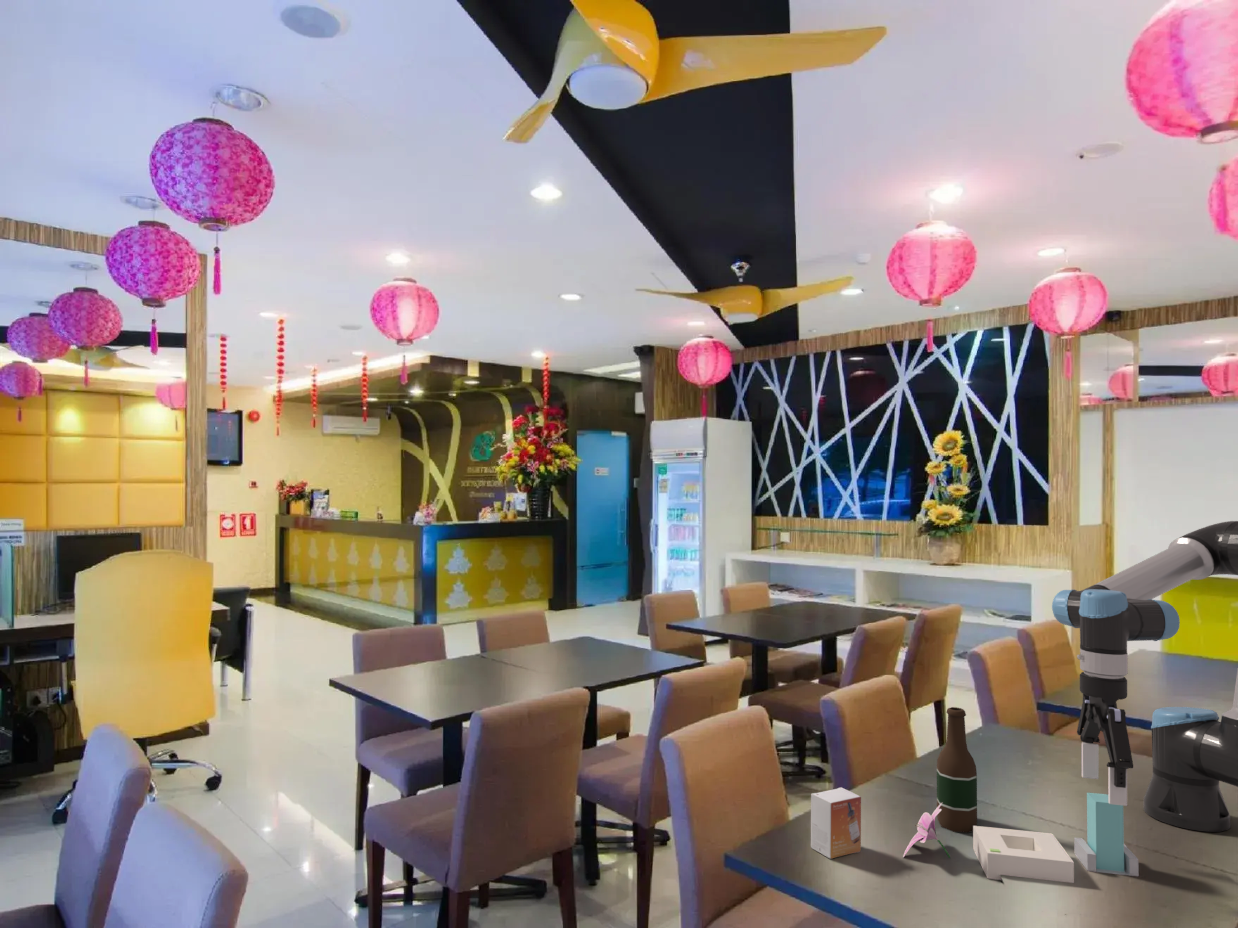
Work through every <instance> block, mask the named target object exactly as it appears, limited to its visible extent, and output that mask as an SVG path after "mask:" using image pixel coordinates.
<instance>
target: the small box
mask: <svg viewBox="0 0 1238 928" xmlns="http://www.w3.org/2000/svg"><path fill="white" fill-rule="evenodd" d="M861 831H862V797H861V796H860V795H858V794H856V793H854V792H852V791H850V790H848V789H845V788H843V787H842V786H841V787H838V788H833V789H829V790H824V791H820V792H814V793H813V792H812V793H811V794H810V848H811V849H812V850H813V851H816V852H818V853H820V855H822V856H825V857H826V858H828V859H834V858H838V857H842V856H846V855H851V854H857V853H860V852H861V849H862V843H861V842H862V841H861V840H862V838H861V837H862V832H861Z"/></svg>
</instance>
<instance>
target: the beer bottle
mask: <svg viewBox="0 0 1238 928" xmlns="http://www.w3.org/2000/svg"><path fill="white" fill-rule="evenodd" d="M966 713H967V712H966V711H965V709H964V708H961V707H956V706H952V707H948V708H946V714H947V727H946V728H947V729H946V741H945V746H944V747H943V748H942V750H941V751H940V752H939V755H938V756H937V761H936V808H937V807H938V806H939V805H940V804H941V803H942V804H941V806H940V808H939V809H942V810H941V811H940V812H939V813H938V815H937V816H936V817H937V821H938V823H939V825H940V827H941V828H943V829H946V830H948V831H950V832H954V833H963V834H964V833H966V834H969V833H971V832H973V826H978V774H977V773H978V772H977V766H976V763H975V760H974V757H973V756H972V754H971V753H970V751H969V749H968V745H967V735H966V722H965V721H966V720H965V717H966V716H967V714H966Z"/></svg>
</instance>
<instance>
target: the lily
mask: <svg viewBox="0 0 1238 928" xmlns="http://www.w3.org/2000/svg"><path fill="white" fill-rule="evenodd" d="M941 804H942V803H941ZM941 804H940V805H939V806H938V807H937V806H936V809H934V811H933V812H932V814H930V813H929V812H923V814H922V815H921V816H920V819H919V820H918V822H917V823H916V824H914V826H915V827H916V830H917V832H916V833H915V834H914V836H913V837H912V838H911V840H910V841H909V843H908V845H907V846H906V849H905V850H904V852H903V855H902V858H904V857H905V856H906V855H907V854H908V852H909V850H910V849H911V848H912V846H913V845H914V844H916V842H919V843H921V844H924V843H925V842H926V841H929V840H936V841H937V842H938V843H939V845H940V846H941V847H942V849H943V850H944V851H945V852H944V853H945V854H946V855H947V857H948V858H949V859H951V857H950V854H949V853H948V851H947V849H946V847H945V846H944V845H943V843H942V842H941V841H940V840H939V838H938V837H937V833H936V823H935V822H936V817H937V815H938V813H939V812H940V811H941V810H942V809H939V808H940V806H941Z"/></svg>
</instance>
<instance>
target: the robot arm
mask: <svg viewBox="0 0 1238 928" xmlns="http://www.w3.org/2000/svg"><path fill="white" fill-rule="evenodd" d="M1215 575H1216V576H1218V575H1228V576H1229V575H1230V576H1238V520H1230V521H1221V522H1218V523H1217V522H1216V523H1213V524H1210V525H1206V526H1205V527H1201V528H1198V529H1196V530H1194V531H1190V532H1188V533H1186V534H1184V535H1181V536H1180V537H1178V538H1176V539H1174V540H1173V541H1171V542H1170V543H1169V544H1168V547H1167V548H1166V549H1165V550H1163V551H1160V552H1158V553H1157V554H1155V555H1153V556H1149V557H1148V558H1146V559H1143V560H1142V561H1140V562H1137V563H1136V564H1134V565H1132V566H1130V567H1127V568H1126V569H1123V570H1121V571H1120V572H1118V573H1115V574H1113V575H1112V576H1109V577H1108V578H1107V577H1106V578H1104V579H1103V580H1101V581H1099V582H1096V583H1095V584H1093V585H1091V586H1089V587H1086V588H1084V589H1082V590H1077V589H1063V590H1060V591H1059V592H1057V594H1056V595H1054V597H1053V600H1052V604H1051V609H1052V614H1053V617H1054V618H1055V620H1056V621H1057V622H1059V624H1062V625H1064V626H1069V627H1072V628H1074V629H1079V642H1080V643H1079V653H1080V654H1076V658H1077V659H1078V660H1079V669H1080V670H1081V671H1082V672H1081V673H1080V674H1079V691H1080V693H1081V694H1082V704H1081V709H1080V715H1079V720H1078V724H1077V730H1076V734H1077V735H1078V736H1079V739H1080V741H1081V777H1082V778H1083V779H1094V780H1099V776H1100V775H1099V769H1100V768H1099V754H1100V753H1099V747H1100V746H1099V744H1100V743H1101V739H1100V738H1099V735H1100V733H1101V732H1102V735H1103V737H1104V739H1103V740H1104V743H1105V745H1106V750H1107V754H1108V758H1109V761H1108V762H1107V763H1106V768H1107V769H1108V770H1107V771H1108V775H1107V776H1108V777H1107V778H1108V780H1107V781H1108V785H1107V786H1108V789H1107V790H1108V792H1107V793H1108V803H1109V804H1113V805H1123V807H1124V806H1125V807H1127V806H1128V770H1129V769H1133V768H1134V762H1133V756H1132V751H1131V744H1130V739H1129V733H1128V728H1127V720H1126V719H1127V718H1126V713H1127V712H1126V711H1125V709H1122V708H1120V709H1119V708H1118V705H1117V702H1118V701H1119V700H1120V701H1121V700H1125V699H1126V698H1127V697H1128V679H1127V678H1126V677H1125V676H1127V675H1128V671H1129V670H1128V669H1129V668H1128V667H1129V666H1128V665H1129V661H1128V659H1129V658H1128V657H1129V655H1128V642H1133V641H1134V642H1135V641H1136V642H1137V641H1141V642H1142V641H1153V642H1157V641H1161V640H1162V641H1163V640H1169V639H1170V638H1173V637H1174V636H1175V635H1176V634H1177V632H1178V631H1179V629H1180V616H1179V613H1178V612H1177V610H1176V609H1175V607H1174V606H1173V605H1171V603H1169V602H1168V601H1167V602H1166V601H1164V600H1158V599H1155V598H1157V597H1159V596H1161V595H1164V594H1165V593H1168V592H1169V591H1171V590H1174V589H1175V588H1177V587H1179V586H1182V585H1183V584H1185V583H1187V582H1189V581H1191V580H1196V581H1197V580H1199V581H1200V580H1204V579H1206V578H1208V577H1211V576H1215ZM1232 701H1233V702H1232V707H1231V708H1230V709H1228V710H1227V711H1225V712H1222V713H1221V719H1220V717H1219V714H1218V712H1216V710H1212V709H1208V708H1207V709H1206V708H1201V707H1193V706H1191V707H1189V706H1188V707H1187V706H1166V707H1159V708H1156V709H1154V711H1153V712H1152V718H1151V720H1152V721H1151V726H1150V729H1151V754H1152V755H1151V757H1152V760H1151V761H1152V776H1151V779H1150V781H1149V784H1148V785H1147V789H1146V791H1145V793H1144V796H1143V800H1142V801H1143V811H1144V812H1145V813H1146V814H1147V815H1148V816H1149V817H1152V818H1153V819H1155V820H1158V821H1160V822H1162V823H1165V824H1167V825H1171V826H1175V827H1177V828H1182V829H1186V830H1192V831H1197V832H1206V833H1207V832H1211V833H1213V832H1214V833H1215V832H1216V833H1217V832H1218V833H1219V832H1224V831H1228V830H1229V829H1230V828H1231V814H1230V811H1229V809H1228V806H1227V804H1226V801H1225V798H1224V795H1223V794H1222V790H1221V788H1220V782H1222V783H1225V784H1228V785H1230V786H1235V787H1237V788H1238V669H1237V671H1236V679H1235V686H1234V694H1233V700H1232ZM1219 720H1221V721H1219Z"/></svg>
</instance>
